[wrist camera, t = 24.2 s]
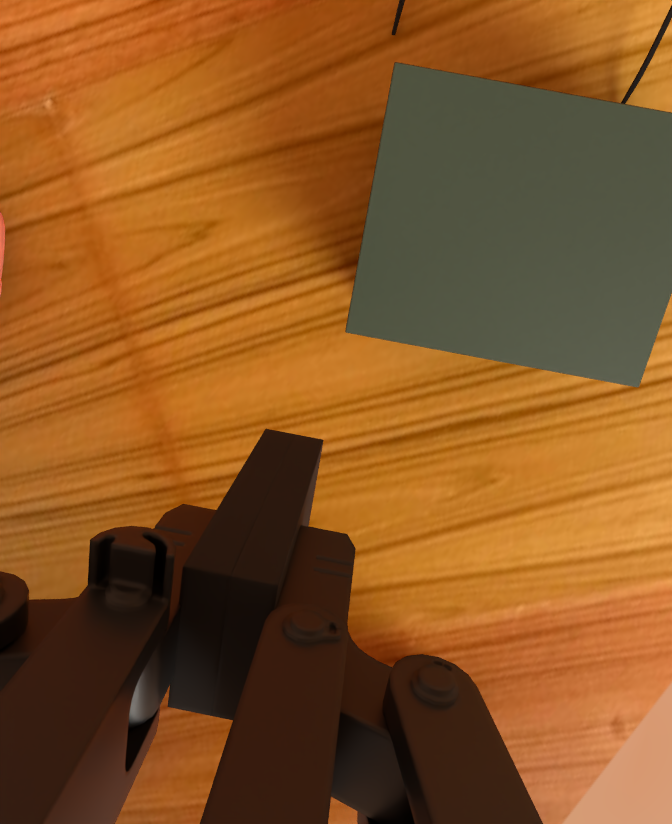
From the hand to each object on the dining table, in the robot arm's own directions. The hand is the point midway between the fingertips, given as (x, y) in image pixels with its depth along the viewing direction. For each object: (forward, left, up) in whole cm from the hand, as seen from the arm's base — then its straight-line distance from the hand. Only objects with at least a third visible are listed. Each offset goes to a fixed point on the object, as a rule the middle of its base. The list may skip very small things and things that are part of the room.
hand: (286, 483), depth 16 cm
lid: (+7, +7, -18) cm, 21 cm away
